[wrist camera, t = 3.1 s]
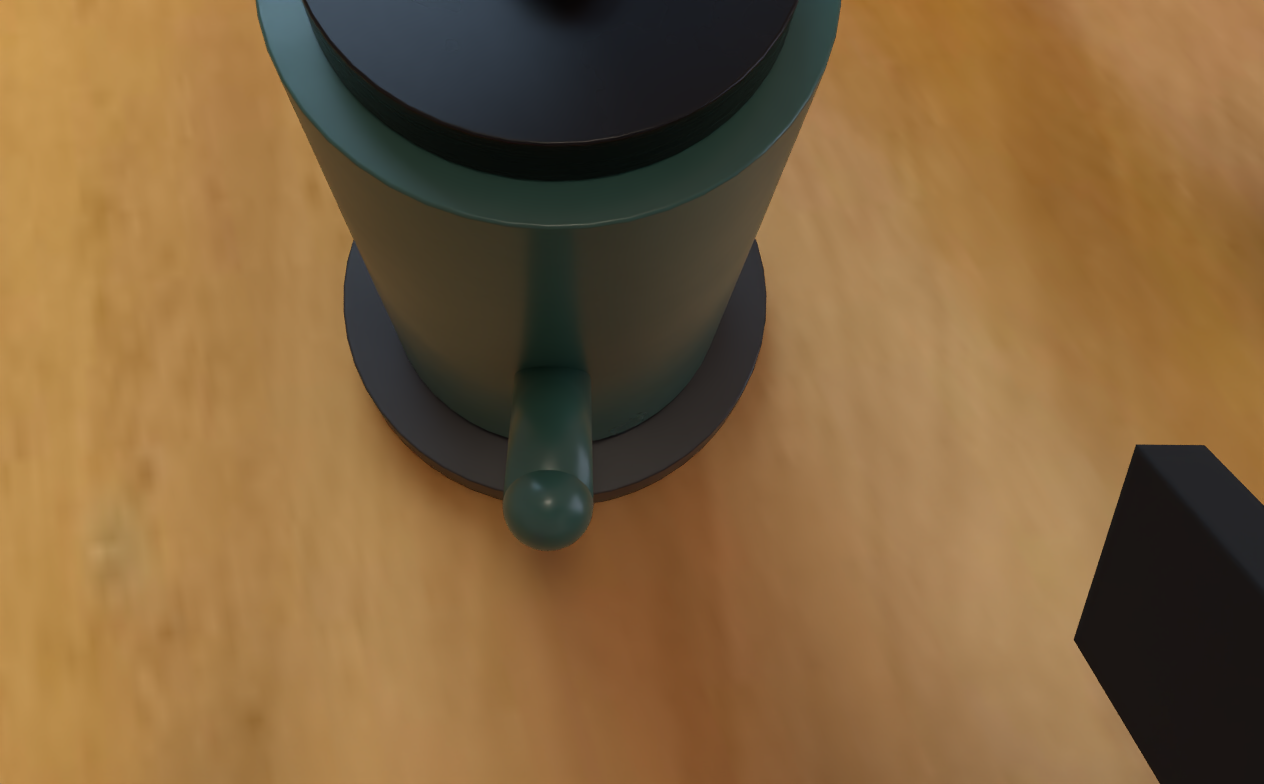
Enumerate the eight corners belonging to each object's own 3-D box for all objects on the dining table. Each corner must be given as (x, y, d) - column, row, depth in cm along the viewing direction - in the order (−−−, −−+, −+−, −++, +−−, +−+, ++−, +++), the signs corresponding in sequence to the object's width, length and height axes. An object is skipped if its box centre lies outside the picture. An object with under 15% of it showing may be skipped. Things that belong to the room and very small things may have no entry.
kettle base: (765, 508, 33) (775, 499, 31) (337, 505, 32) (327, 496, 31) (751, 131, 36) (759, 108, 35) (365, 120, 36) (357, 96, 34)
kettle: (728, 595, 30) (941, 462, 13) (372, 594, 30) (113, 453, 13) (712, 16, 36) (850, -614, 18) (408, 5, 35) (261, -656, 18)
